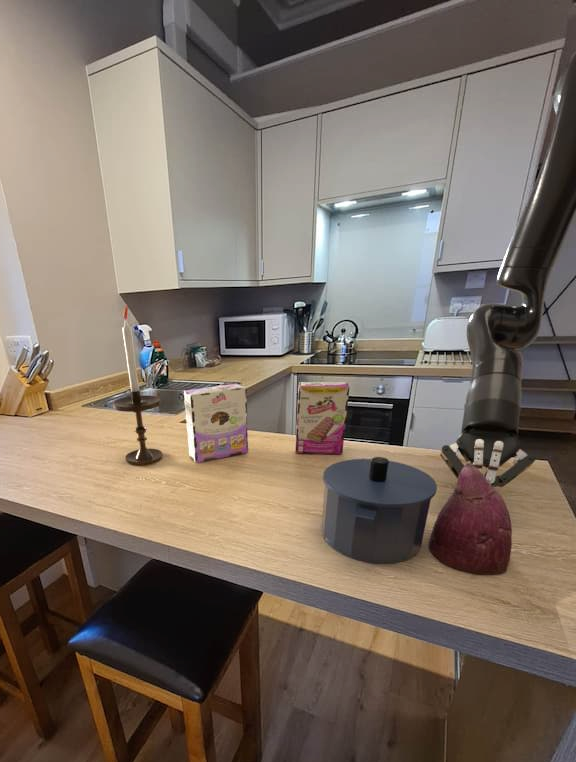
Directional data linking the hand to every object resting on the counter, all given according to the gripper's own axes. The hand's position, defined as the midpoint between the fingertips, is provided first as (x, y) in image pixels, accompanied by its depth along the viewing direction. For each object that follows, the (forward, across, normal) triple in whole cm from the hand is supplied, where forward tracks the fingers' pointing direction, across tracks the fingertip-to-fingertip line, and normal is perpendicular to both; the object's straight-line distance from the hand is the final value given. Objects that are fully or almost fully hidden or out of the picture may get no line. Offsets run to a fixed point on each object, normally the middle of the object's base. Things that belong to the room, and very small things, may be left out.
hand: (478, 507), depth 60 cm
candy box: (-7, -53, +14) cm, 55 cm away
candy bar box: (-15, -31, +22) cm, 41 cm away
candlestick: (-1, -69, +7) cm, 70 cm away
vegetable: (+8, -1, -1) cm, 8 cm away
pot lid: (+2, -14, -9) cm, 17 cm away
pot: (+8, -14, -2) cm, 17 cm away
